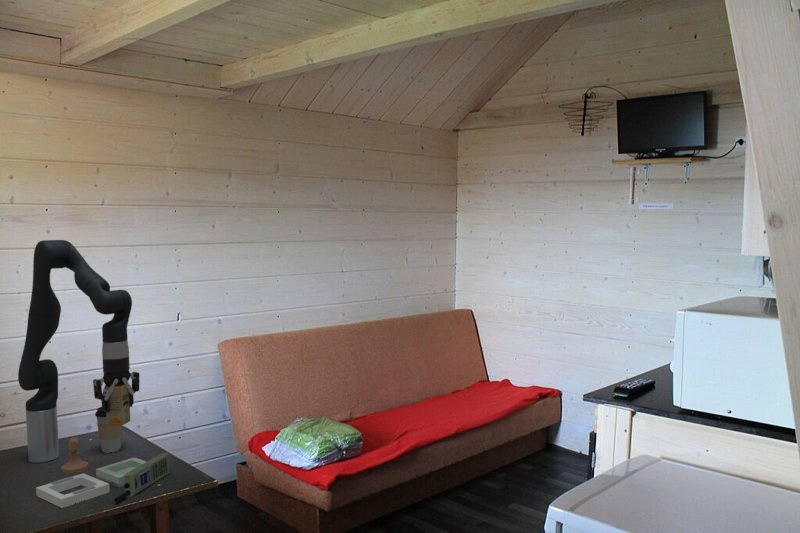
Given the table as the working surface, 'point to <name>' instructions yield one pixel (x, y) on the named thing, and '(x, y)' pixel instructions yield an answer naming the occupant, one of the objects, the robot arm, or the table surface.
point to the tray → (117, 471)
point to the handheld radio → (145, 475)
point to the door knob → (74, 459)
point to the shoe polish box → (118, 406)
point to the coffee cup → (108, 433)
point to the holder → (53, 496)
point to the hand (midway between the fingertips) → (118, 409)
